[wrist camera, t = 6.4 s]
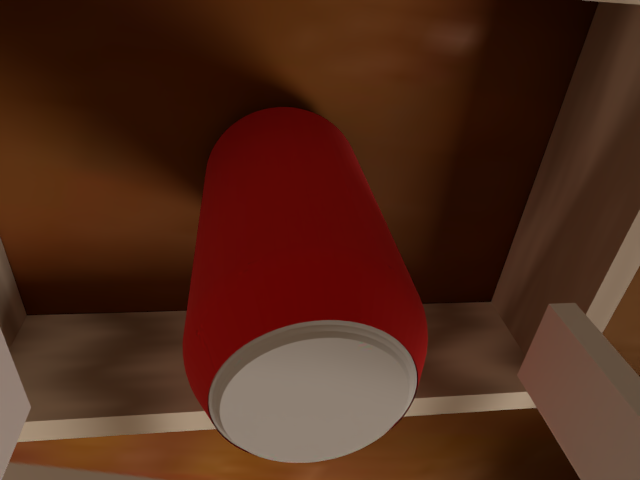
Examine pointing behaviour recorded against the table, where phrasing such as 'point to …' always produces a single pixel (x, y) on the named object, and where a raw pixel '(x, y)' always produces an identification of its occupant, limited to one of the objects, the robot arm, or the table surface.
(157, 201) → the table surface
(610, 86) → the frame
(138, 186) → the table surface
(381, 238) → the beverage can
